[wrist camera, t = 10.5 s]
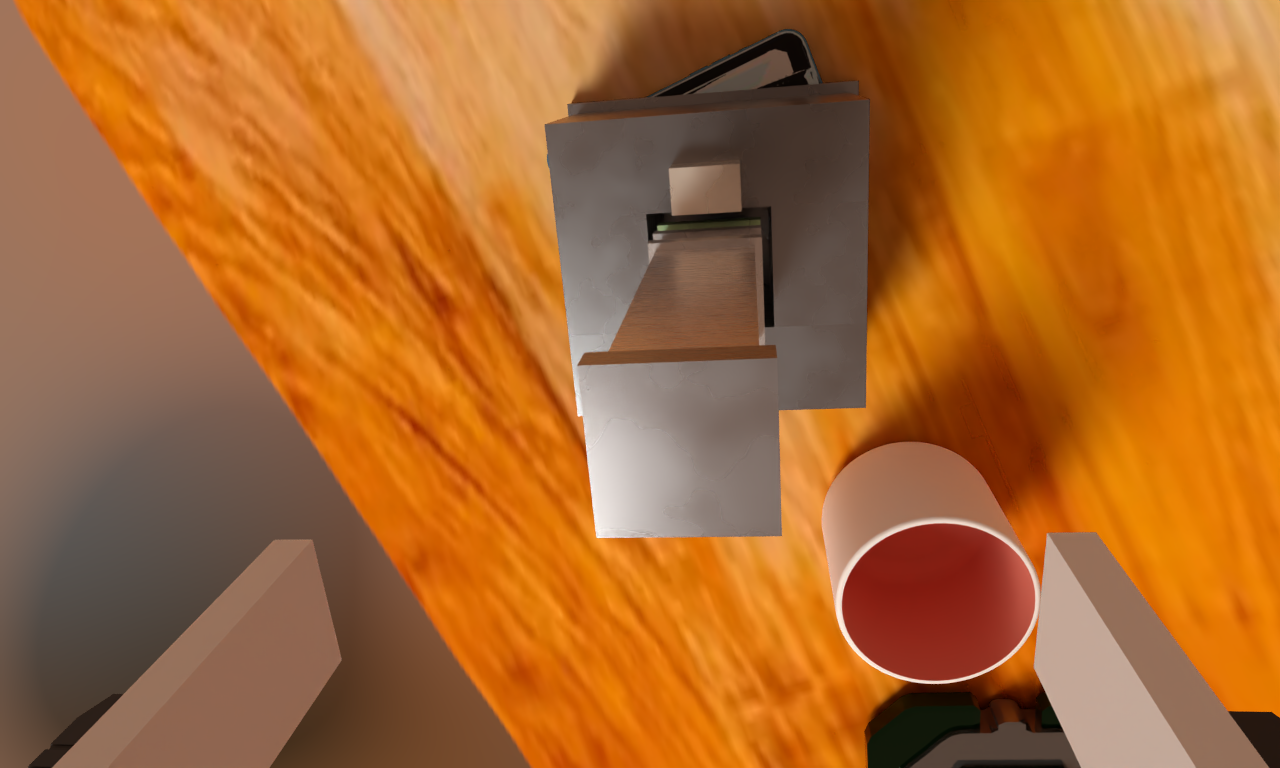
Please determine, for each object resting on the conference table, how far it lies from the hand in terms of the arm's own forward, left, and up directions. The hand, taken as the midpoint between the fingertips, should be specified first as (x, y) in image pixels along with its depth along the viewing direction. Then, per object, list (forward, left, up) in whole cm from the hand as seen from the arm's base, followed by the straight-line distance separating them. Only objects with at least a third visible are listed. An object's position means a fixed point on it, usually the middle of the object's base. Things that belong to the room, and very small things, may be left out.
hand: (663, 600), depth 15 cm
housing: (0, 0, -35) cm, 35 cm away
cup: (+18, +10, -35) cm, 40 cm away
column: (0, 0, -27) cm, 27 cm away
